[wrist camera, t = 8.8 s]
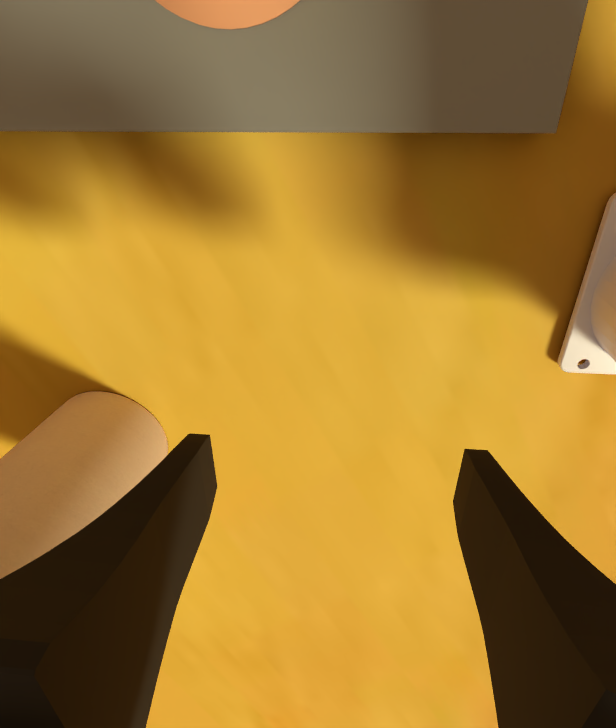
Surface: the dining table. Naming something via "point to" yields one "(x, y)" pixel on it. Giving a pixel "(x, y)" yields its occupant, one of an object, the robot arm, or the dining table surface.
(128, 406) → the coffee cup
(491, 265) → the dining table surface
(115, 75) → the post board
